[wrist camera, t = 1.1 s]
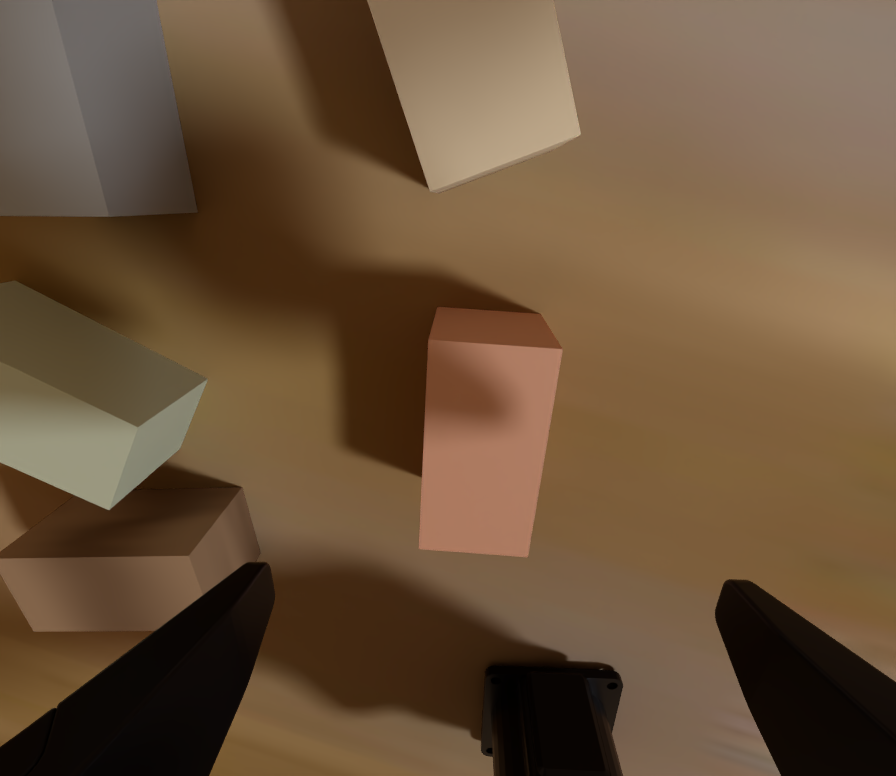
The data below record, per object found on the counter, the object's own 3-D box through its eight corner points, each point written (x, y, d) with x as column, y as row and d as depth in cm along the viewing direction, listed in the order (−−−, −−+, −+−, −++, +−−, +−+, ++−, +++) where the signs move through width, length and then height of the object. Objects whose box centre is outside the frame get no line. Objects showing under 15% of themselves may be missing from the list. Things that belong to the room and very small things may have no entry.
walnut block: (243, 484, 19) (188, 555, 15) (262, 551, 20) (215, 630, 16) (83, 489, 19) (-9, 558, 15) (112, 553, 20) (33, 631, 17)
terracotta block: (515, 483, 18) (527, 557, 14) (428, 477, 18) (418, 548, 14) (539, 312, 15) (562, 349, 12) (437, 305, 15) (428, 339, 12)
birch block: (549, 151, 13) (580, 134, 10) (439, 193, 14) (429, 191, 10) (479, -154, 11) (486, -330, 7) (349, -88, 12) (294, -221, 8)
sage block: (210, 377, 17) (138, 427, 13) (182, 446, 18) (108, 510, 14) (19, 279, 16) (-119, 304, 12) (3, 361, 17) (-127, 406, 13)
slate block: (200, 212, 15) (109, 216, 11) (94, 211, 15) (-31, 215, 11) (144, -74, 12) (-2, -198, 8) (15, -73, 12) (-186, -193, 8)
